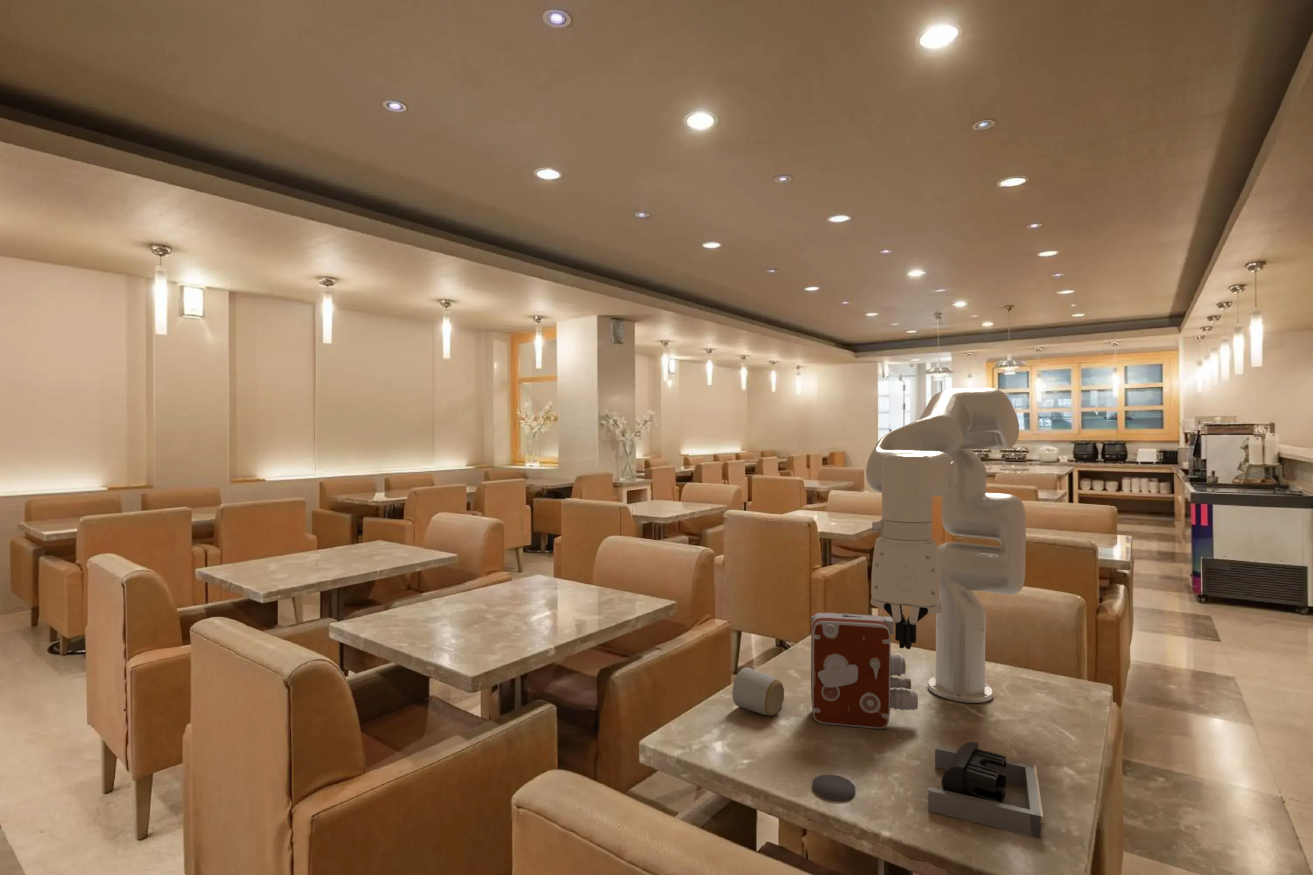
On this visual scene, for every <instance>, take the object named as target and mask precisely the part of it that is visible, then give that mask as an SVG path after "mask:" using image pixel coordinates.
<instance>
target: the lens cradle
mask: <svg viewBox="0 0 1313 875" xmlns="http://www.w3.org/2000/svg"><path fill="white" fill-rule="evenodd" d="M957 751H958V749H953V748H948V747H943V746H939V745H938V746H937V745H935V748H934V767H935V768H938V769H944V770H946V769H947V767H948V766H949V764H950V762H951V761H952V759H953V757H954V756H955V754H956V752H957ZM985 766H986V767H987V768H990V769H993V770H997V771H999V773H1001V774H1004V775H1006V783H1008V784H1014V785H1017V786H1022V787H1024V788H1025V789H1024V790H1025V798H1026V806H1027V807H1026V808H1025V807H1019V806H1015V805H1011V804H1007V803H999V802H994V801H990V800H985V799H981V798H976V797H972V796H968V795H963V794H959V793H954V792H950V791H945V790H943V789H941V788H936V787H933V786H928V791H927V793H928V794H927V799H928V800H927V808H928V809H927V811H928V812H930V813H933V814H938V815H942V816H947V817H951V818H955V819H959V820H964V821H967V822H972V823H976V824H979V825H982V826H983V825H984V826H989V827H991V828H995V829H999V830H1005V831H1009V832H1013V833H1017V834H1020V835H1025V836H1030V837H1033V838H1037V839H1041V835H1042V834H1041V833H1042V832H1041V828H1042V827H1041V826H1042V825H1041V824H1042V823H1044V813H1043V812H1044V811H1043V805H1042V800H1041V799H1042V797H1041V791H1040V786H1039V784H1040V783H1039V777H1038V771H1037V766H1036V765H1035V764H1034V765H1032V764H1029V763H1024V762H1019V761H1014V760H1009V759H1006V768H1005V767H1001V766H998V765H994V764H990V763H986V764H985Z"/></svg>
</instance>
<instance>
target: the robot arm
mask: <svg viewBox="0 0 1313 875" xmlns="http://www.w3.org/2000/svg"><path fill="white" fill-rule="evenodd" d="M1019 435H1020V423H1019V418H1018V416H1017V413H1016V411H1015V408H1014V407H1013V404H1012V402H1011V400H1010V399H1009V397H1008V396H1007V394H1006V393H1004V392H1003V391H1002V390H1000V389H998V388H994V387H993V388H992V387H987V388H986V387H982V388H981V387H980V388H950V389H945V390H942V391H939V392H937V393H935V394H934V395H932V397H931V398H930V400H929V402H928V403H927V405H926V406H925V408H924V410H923V412H922V414H921V416H920V418H919V419H918V420H915V421H912V422H910V423H908V424H905V425H903V426H901V427H898V428H896V429H894V430H892V431H889V432H888V433H886V434H884V435H883V436H882V437H881V438H880V439H879V440H878V441H877V443H876V444H875V446H874V448H873V449H872V451H871V452H870V455H869V458H868V461H867V463H866V467H865V468H866V469H865V476H866V481H867V483H868V485H869V486H870V488H871V489H872V490H873V491H875V492H877V493H881V519H880V520H878V521H872V524H871V529H872V531H877V532H878V533H880V536H879V537H877V538H875V543H874V550H873V555H872V556H873V557H872V564H871V565H872V566H871V567H872V568H871V582H870V583H871V585H870V588H871V590H870V591H871V592H870V593H871V594H870V595H871V599H870V604H871V606H873V607H876V608H879V609H883V610H885V611H886V613H887V614H888V615H889V617H891V618H892V619H893V621H894V630H895V631H894V632H895V635H894V636H895V637H894V639H895V640H894V641H896V642H899V644H898V646H899V648H900V649H904V648H905V649H906V650H911V648H912V645H913V644H917V624H918V622H919V621H921V620H922V619H923V618H924V617H926V616H927V615H935V616H936V618H935V676H933V677H931V678H930V679H929V678H928V681H927V688H928V690H929V691H930V692H931V693H933V694H934V695H936V696H939V697H941V698H942V699H946V700H949V701H955V702H959V703H966V704H967V703H968V704H969V703H970V704H979V703H987V702H989V701H991V700H992V699H993V698H994V691H993V689H992V688H991V687H990V686H989V685H988V684H986V616H987V615H986V610H985V608H984V606H983V603H982V602H981V601H980V600H981V599H979V597H978V596H977V595H976V593H975V592H978V591H979V592H985V593H986V592H987V593H994V594H1002V595H1017V594H1018V593H1019V592H1021V591H1022V590H1023V587H1024V585H1025V580H1026V555H1027V554H1026V553H1027V552H1026V547H1027V546H1026V544H1027V541H1026V540H1027V539H1026V538H1027V516H1026V515H1027V514H1026V508H1025V505H1024V503H1023V501H1022V500H1021V499H1020V497H1018V496H1016V495H1014V494H1009V493H999V492H997V493H996V492H988V491H987V468H986V466H985V464H984V463H983V461H982V459H980V457H979V456H978V455H977V453H975V451H973V450H992V451H993V450H994V451H995V450H1002V451H1003V450H1009V449H1011V448H1012V447H1014V446H1015V445H1016V443H1017V441H1018V439H1019ZM933 497H941V523H942V524H941V525H942V527H943V529H944V530H945V531H946V533H948V534H951V535H954V536H961V537H967V538H978V539H979V538H980V539H988V540H990V539H991V540H996V541H998V542H999V544H1000V545H999V546H998V545H988V544H979V543H972V542H971V543H970V542H969V543H968V542H959V541H958V542H957V541H951V542H950V541H949V542H944V543H941V544H939V545H938V543H937V541H936V540H934V539H933ZM974 591H975V592H974ZM903 606H907V607H910V610H909V611H910V612H909V615H908V617H907V619H906V617H905V615H904V612H903Z"/></svg>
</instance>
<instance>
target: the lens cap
mask: <svg viewBox="0 0 1313 875" xmlns="http://www.w3.org/2000/svg"><path fill="white" fill-rule="evenodd" d="M811 786H812V791H813V793H815V794H816V796H818V797H821V798H823V799H825V800H828V801H831V802H832V801H833V802H847V801H850V800H852V799H853V798H855V796H856V786H855V784H854V783H853V782H852V781H851V780H849V779H847V778H846V777H844V776H843V777H842V776H840V775H836V774H835V775H834V774H823V775H822V774H821V775H818V776H816V777H814V779H813V780H812V785H811Z"/></svg>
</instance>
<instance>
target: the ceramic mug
mask: <svg viewBox="0 0 1313 875" xmlns="http://www.w3.org/2000/svg"><path fill="white" fill-rule="evenodd" d="M732 700H733V703H734V704H735V706H737V707H739V708H742V709H746V710H748V711H752V712H755V713H758V714H760V715H764V716H770V717H771V716H775V715H776V714H778V712H779V711H780V710H781V707H782V705H783V703H784V701H785V688H784V685H783V683H782V682H781V680H780V679H778V678H776V677H774V676H772V675H769V674H766V673H764V672H761V671H758V670H756V669H754V668H751V667H748V666H747V667H742V668H741V669H740V670H739V671H738V673H737V674H736V676H735V679H734V682H733V685H732Z"/></svg>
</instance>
